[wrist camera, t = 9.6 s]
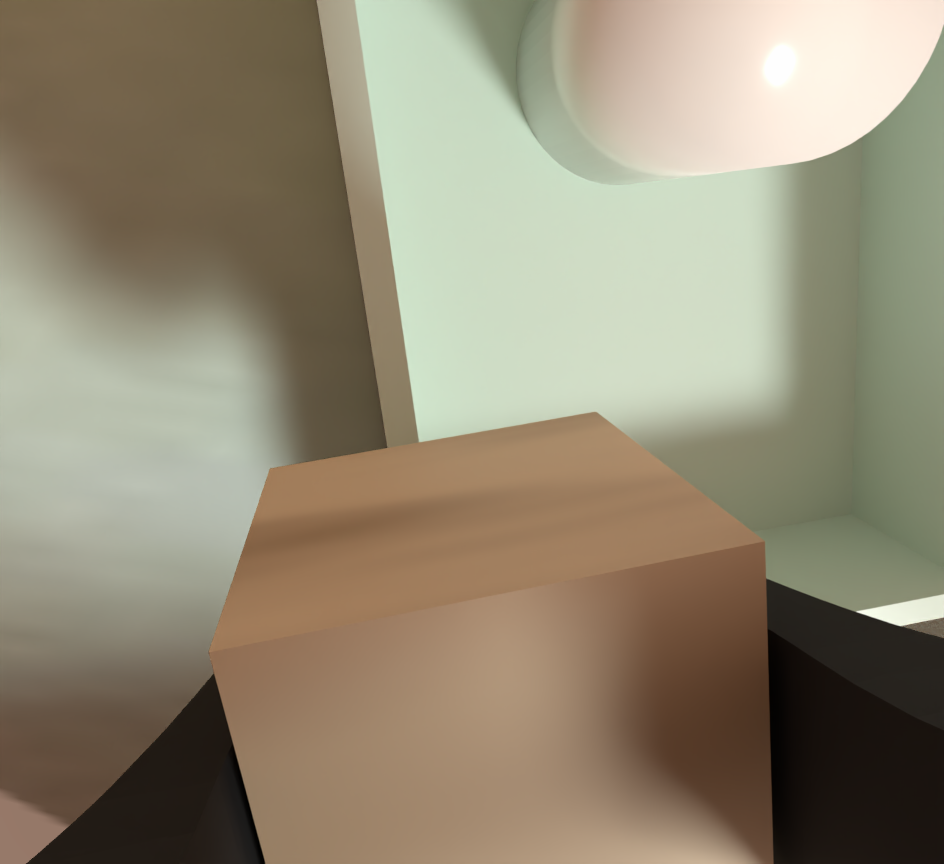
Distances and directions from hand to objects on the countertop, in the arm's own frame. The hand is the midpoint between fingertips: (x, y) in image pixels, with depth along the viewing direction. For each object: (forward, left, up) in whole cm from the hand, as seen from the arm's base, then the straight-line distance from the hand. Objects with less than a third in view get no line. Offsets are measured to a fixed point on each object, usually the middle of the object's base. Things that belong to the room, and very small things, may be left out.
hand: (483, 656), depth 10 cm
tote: (+4, -6, -9) cm, 12 cm away
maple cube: (0, 0, -2) cm, 2 cm away
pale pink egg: (+8, -6, -9) cm, 14 cm away
